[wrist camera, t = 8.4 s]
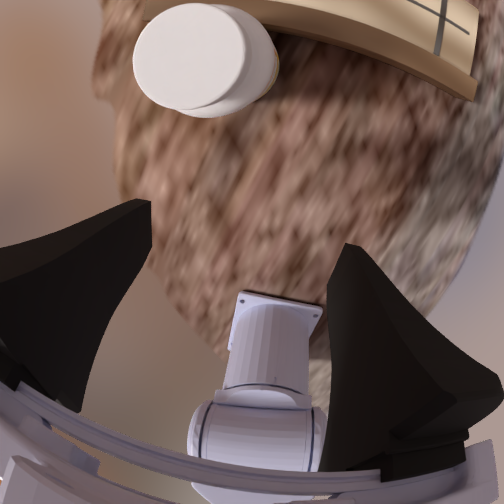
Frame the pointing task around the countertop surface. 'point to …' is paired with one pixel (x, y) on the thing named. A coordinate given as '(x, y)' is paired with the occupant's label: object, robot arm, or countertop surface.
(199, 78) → the supplement bottle
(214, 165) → the countertop surface
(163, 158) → the countertop surface
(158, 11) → the board
